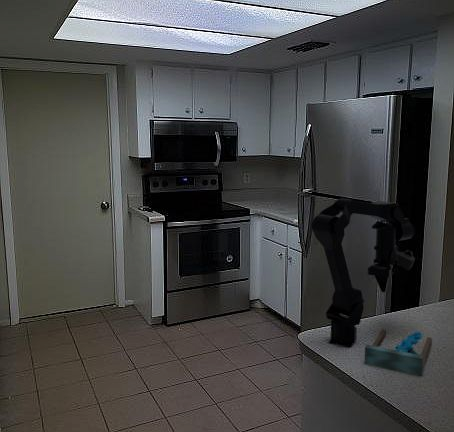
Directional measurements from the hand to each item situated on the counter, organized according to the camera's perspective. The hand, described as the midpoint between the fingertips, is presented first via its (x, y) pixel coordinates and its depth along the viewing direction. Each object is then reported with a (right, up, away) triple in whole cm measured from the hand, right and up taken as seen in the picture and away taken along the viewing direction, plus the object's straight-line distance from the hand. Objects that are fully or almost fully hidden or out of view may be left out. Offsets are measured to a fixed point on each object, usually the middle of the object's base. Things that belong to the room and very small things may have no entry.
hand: (383, 291), depth 143 cm
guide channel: (-1, -14, -16) cm, 21 cm away
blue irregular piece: (-1, -15, -19) cm, 25 cm away
